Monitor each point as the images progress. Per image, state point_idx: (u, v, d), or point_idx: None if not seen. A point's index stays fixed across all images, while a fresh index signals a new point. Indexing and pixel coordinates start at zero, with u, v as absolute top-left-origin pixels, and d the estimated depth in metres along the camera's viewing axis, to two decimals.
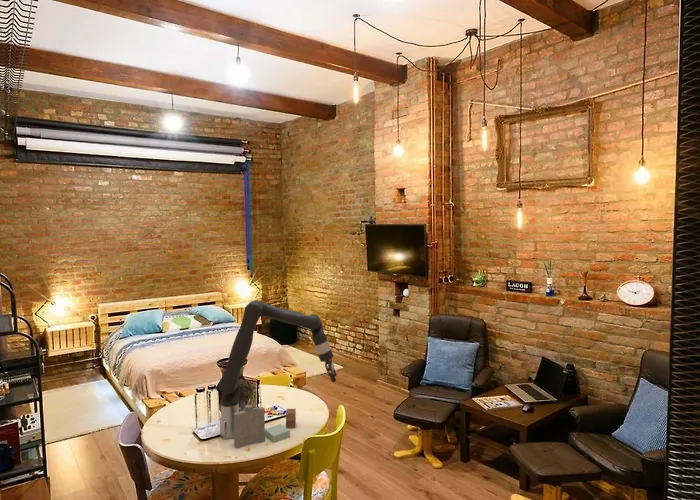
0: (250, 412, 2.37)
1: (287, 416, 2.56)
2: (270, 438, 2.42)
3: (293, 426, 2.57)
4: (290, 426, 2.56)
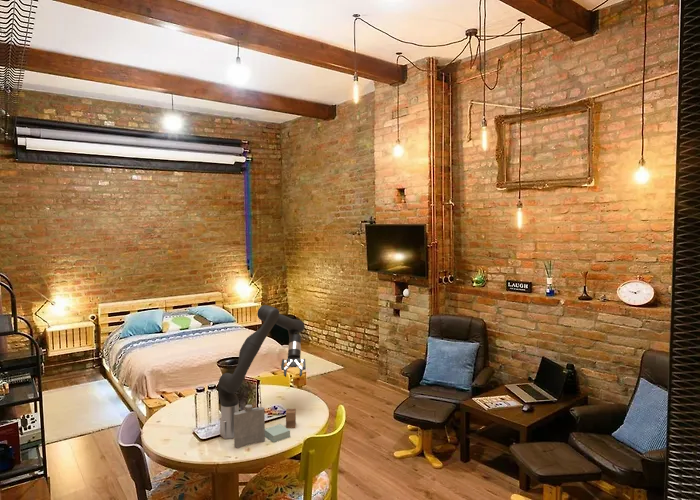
0: (250, 412, 2.37)
1: (287, 416, 2.56)
2: (270, 438, 2.42)
3: (293, 426, 2.57)
4: (290, 426, 2.56)
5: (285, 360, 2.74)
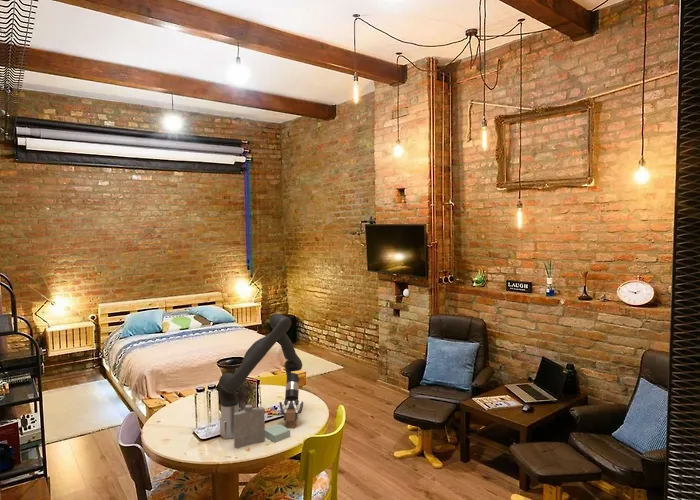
0: (250, 412, 2.37)
1: (287, 416, 2.56)
2: (271, 438, 2.42)
3: (293, 426, 2.57)
4: (290, 426, 2.56)
5: (282, 402, 2.63)
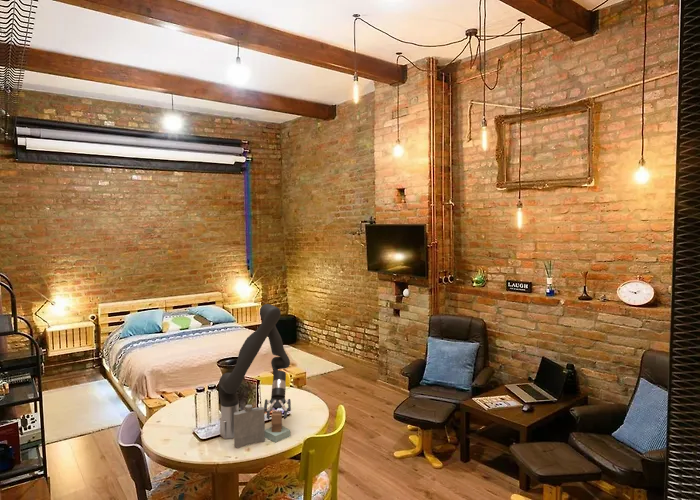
0: (250, 412, 2.37)
1: (273, 419, 2.44)
2: (271, 438, 2.42)
3: (279, 429, 2.44)
4: (276, 429, 2.44)
5: (268, 400, 2.51)
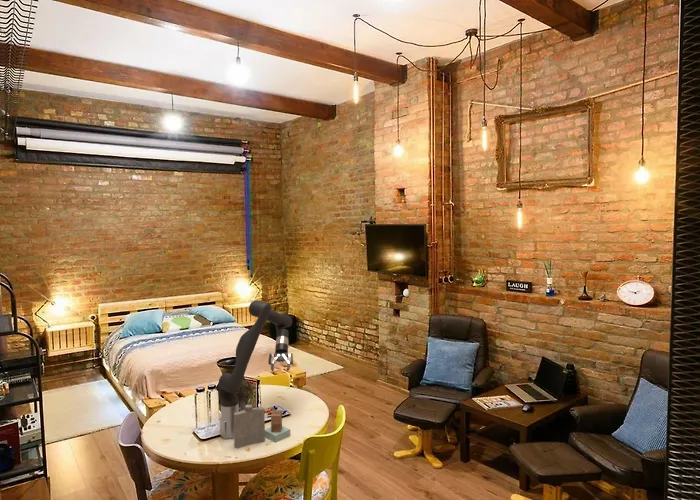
0: (250, 412, 2.37)
1: (272, 419, 2.44)
2: (271, 438, 2.42)
3: (279, 430, 2.44)
4: (275, 430, 2.44)
5: (272, 354, 2.73)
